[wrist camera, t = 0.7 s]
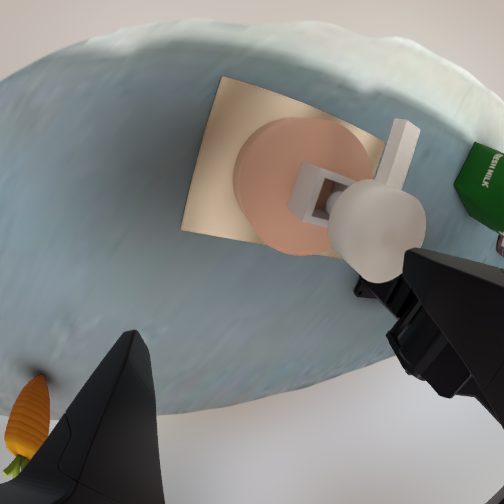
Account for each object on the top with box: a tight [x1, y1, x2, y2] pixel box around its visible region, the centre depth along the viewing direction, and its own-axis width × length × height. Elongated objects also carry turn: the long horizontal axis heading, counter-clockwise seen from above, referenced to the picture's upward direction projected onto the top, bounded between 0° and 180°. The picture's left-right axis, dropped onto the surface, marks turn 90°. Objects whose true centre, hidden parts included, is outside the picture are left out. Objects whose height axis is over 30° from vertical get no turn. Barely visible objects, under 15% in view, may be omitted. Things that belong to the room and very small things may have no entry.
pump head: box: [326, 118, 426, 283], centre depth 12 cm, size 4×7×5 cm, turn 163°
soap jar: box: [233, 117, 373, 256], centre depth 17 cm, size 9×9×6 cm
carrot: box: [3, 375, 50, 478], centre depth 16 cm, size 5×5×15 cm
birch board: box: [181, 76, 386, 259], centre depth 20 cm, size 14×11×1 cm
